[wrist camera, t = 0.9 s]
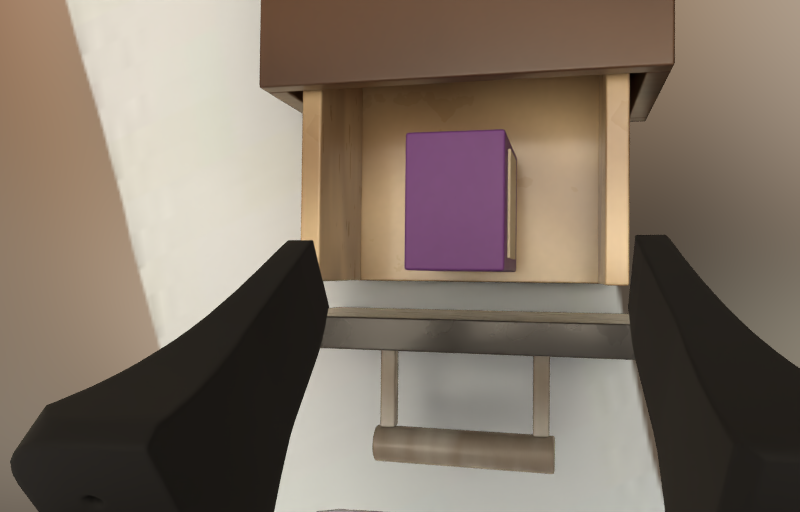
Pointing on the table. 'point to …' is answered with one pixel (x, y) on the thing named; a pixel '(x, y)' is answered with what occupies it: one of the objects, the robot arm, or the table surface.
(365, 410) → the table surface
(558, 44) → the drawer unit
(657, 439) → the robot arm
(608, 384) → the table surface
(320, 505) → the table surface
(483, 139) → the snack box
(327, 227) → the drawer
